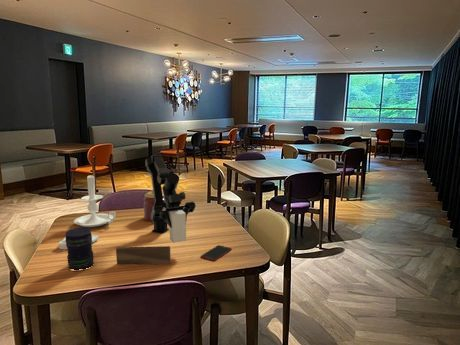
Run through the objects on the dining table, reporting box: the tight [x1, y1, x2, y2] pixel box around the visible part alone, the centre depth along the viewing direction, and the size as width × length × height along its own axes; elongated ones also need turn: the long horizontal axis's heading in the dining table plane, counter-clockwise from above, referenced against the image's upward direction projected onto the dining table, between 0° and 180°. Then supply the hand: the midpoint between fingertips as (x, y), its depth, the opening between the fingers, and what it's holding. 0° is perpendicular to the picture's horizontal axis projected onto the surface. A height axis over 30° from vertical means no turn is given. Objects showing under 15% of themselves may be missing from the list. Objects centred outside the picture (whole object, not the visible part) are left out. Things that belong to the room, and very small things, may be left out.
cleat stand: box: [115, 245, 172, 265], centre depth 153 cm, size 11×22×7 cm, turn 91°
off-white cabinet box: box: [168, 210, 187, 243], centre depth 156 cm, size 5×6×12 cm
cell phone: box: [200, 244, 233, 262], centre depth 159 cm, size 8×15×1 cm, turn 148°
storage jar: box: [64, 227, 95, 270], centre depth 146 cm, size 10×10×15 cm
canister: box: [142, 189, 165, 222], centre depth 207 cm, size 13×13×18 cm
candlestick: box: [73, 174, 117, 228], centre depth 195 cm, size 21×25×28 cm
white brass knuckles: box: [58, 233, 100, 250], centre depth 171 cm, size 3×18×15 cm
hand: (178, 226), depth 155 cm, fingers closed on off-white cabinet box, 6 cm apart
